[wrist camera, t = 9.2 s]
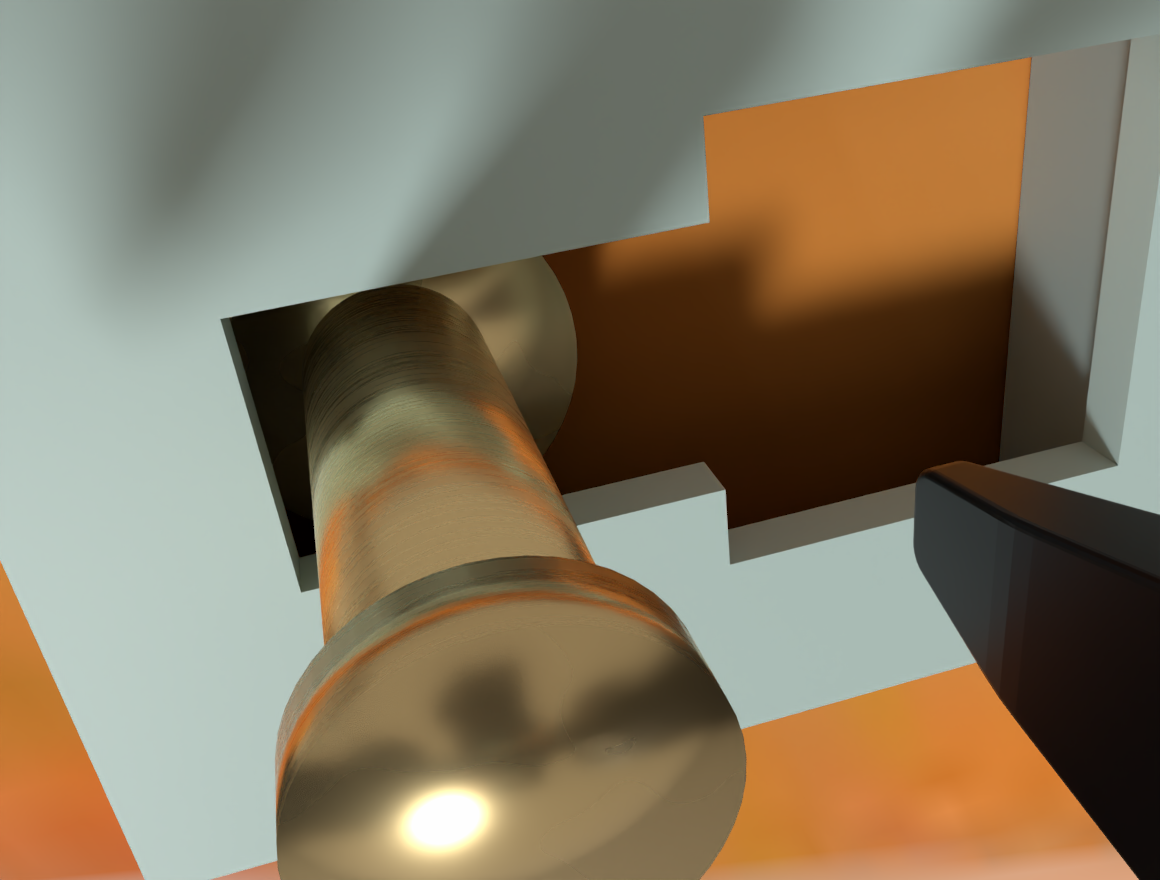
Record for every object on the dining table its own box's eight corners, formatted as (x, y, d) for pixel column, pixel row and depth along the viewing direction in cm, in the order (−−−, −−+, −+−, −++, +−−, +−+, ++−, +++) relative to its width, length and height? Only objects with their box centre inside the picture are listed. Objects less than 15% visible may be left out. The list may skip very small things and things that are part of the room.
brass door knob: (525, 130, 15) (854, 433, 7) (567, 440, 17) (849, 948, 9) (161, 194, 14) (21, 629, 6) (256, 510, 16) (252, 1141, 8)
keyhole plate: (1136, -252, 14) (1343, -285, 12) (1051, 507, 20) (1176, 605, 17) (-161, -87, 12) (-288, -78, 9) (169, 736, 17) (151, 896, 15)
